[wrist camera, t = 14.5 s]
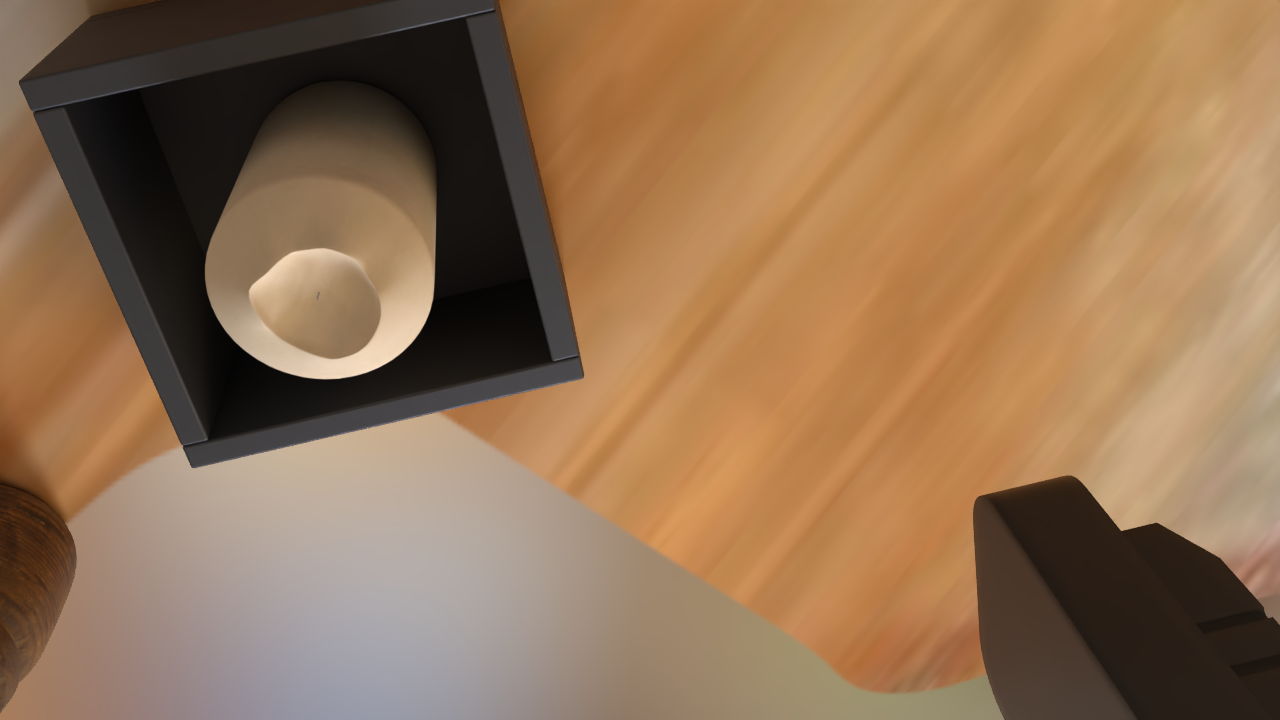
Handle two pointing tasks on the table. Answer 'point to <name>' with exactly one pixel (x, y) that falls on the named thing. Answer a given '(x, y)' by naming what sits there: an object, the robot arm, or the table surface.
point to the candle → (328, 234)
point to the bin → (212, 160)
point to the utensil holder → (30, 582)
